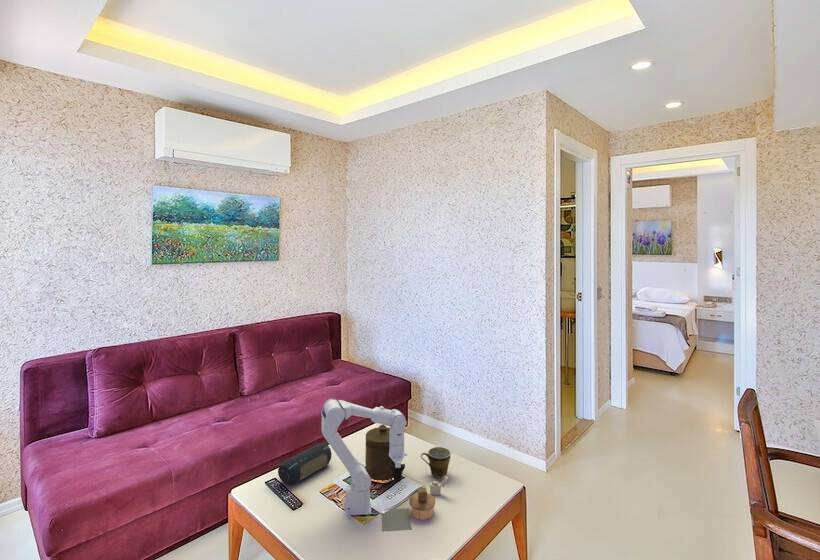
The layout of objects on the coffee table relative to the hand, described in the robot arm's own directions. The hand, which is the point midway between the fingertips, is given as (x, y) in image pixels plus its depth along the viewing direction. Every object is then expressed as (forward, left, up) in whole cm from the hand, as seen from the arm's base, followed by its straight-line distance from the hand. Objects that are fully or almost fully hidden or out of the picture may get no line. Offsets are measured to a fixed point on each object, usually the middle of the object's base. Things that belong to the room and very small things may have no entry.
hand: (396, 475), depth 163 cm
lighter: (+17, +2, -10) cm, 20 cm away
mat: (-1, -12, -10) cm, 16 cm away
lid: (+9, -9, -6) cm, 14 cm away
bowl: (+9, -9, -10) cm, 16 cm away
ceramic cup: (+18, +17, -10) cm, 27 cm away
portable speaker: (-38, +23, -10) cm, 45 cm away
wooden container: (-5, +19, -10) cm, 22 cm away
